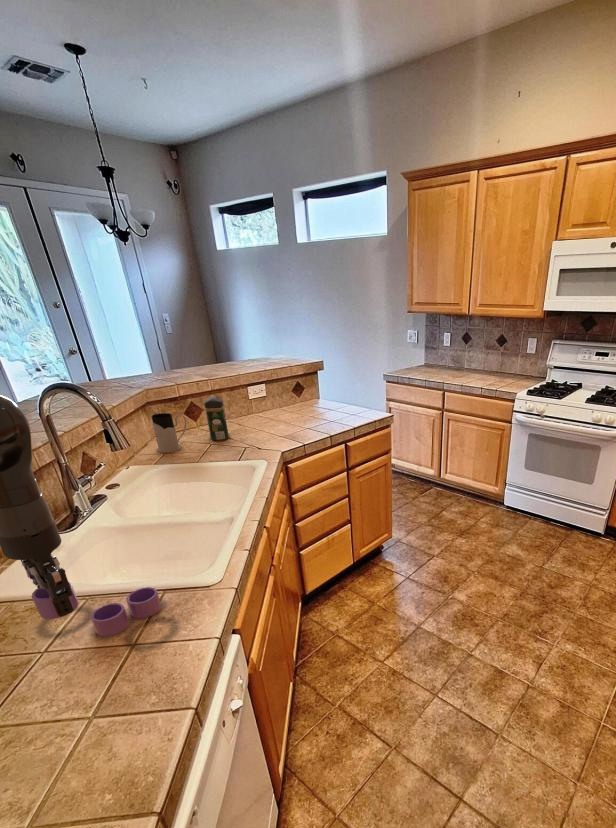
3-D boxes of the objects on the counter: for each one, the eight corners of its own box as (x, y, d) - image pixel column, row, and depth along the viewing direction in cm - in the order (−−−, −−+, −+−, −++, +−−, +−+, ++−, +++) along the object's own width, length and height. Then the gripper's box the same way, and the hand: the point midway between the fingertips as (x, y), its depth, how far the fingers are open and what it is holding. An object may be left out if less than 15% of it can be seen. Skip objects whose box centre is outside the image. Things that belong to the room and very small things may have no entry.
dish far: (126, 613, 90) (121, 596, 88) (153, 599, 94) (148, 584, 92) (140, 623, 87) (134, 607, 85) (167, 609, 91) (162, 593, 89)
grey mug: (153, 450, 182) (145, 415, 176) (184, 442, 193) (177, 409, 186) (165, 454, 178) (157, 419, 171) (196, 446, 189) (189, 412, 182)
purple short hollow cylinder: (35, 610, 76) (26, 591, 74) (70, 595, 80) (63, 577, 78) (47, 623, 74) (39, 604, 72) (84, 607, 78) (76, 588, 76)
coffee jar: (211, 435, 203) (204, 396, 195) (229, 434, 206) (222, 395, 197) (209, 441, 195) (202, 400, 187) (228, 440, 197) (221, 399, 189)
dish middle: (92, 630, 85) (85, 613, 83) (121, 615, 89) (116, 599, 87) (105, 642, 82) (98, 625, 80) (135, 626, 86) (129, 610, 84)
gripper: (-21, 519, 70) (18, 601, 78) (11, 548, 63) (50, 635, 70) (34, 504, 75) (65, 582, 83) (70, 528, 68) (100, 612, 76)
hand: (58, 606), depth 77 cm, fingers closed on purple short hollow cylinder, 5 cm apart
